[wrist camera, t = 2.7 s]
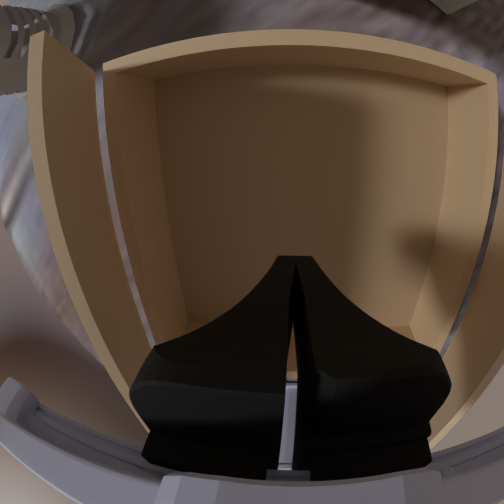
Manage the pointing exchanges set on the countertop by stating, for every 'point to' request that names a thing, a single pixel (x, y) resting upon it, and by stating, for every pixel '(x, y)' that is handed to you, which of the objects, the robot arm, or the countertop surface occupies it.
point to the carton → (301, 172)
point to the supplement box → (452, 4)
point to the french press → (17, 42)
